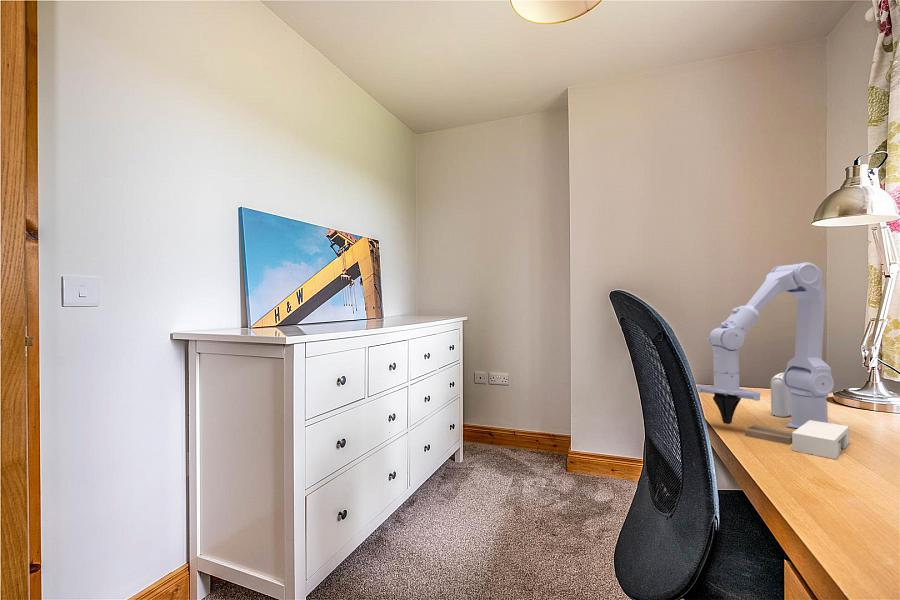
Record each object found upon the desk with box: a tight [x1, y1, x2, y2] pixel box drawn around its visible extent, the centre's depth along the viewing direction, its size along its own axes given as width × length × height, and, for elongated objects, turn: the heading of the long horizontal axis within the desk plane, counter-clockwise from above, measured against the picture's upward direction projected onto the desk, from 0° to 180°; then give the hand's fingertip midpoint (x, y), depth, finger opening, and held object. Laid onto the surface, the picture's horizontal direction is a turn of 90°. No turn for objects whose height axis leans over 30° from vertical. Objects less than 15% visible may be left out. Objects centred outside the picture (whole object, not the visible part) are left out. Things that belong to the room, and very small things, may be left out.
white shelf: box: [791, 420, 851, 460], centre depth 97 cm, size 16×7×4 cm, turn 128°
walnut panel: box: [744, 424, 793, 446], centre depth 104 cm, size 7×9×2 cm
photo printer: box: [770, 372, 791, 418], centre depth 125 cm, size 10×4×12 cm, turn 123°
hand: (727, 423), depth 112 cm, fingers closed
